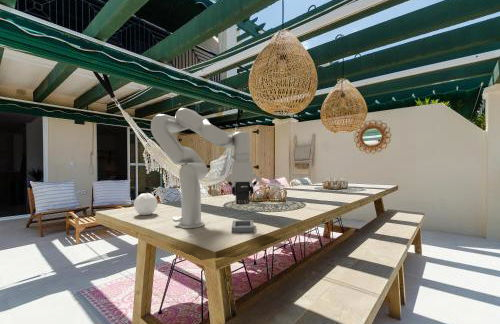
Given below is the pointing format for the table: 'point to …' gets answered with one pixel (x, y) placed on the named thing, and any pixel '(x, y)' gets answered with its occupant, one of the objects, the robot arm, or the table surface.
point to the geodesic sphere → (145, 204)
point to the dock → (243, 226)
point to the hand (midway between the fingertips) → (242, 195)
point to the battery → (242, 192)
